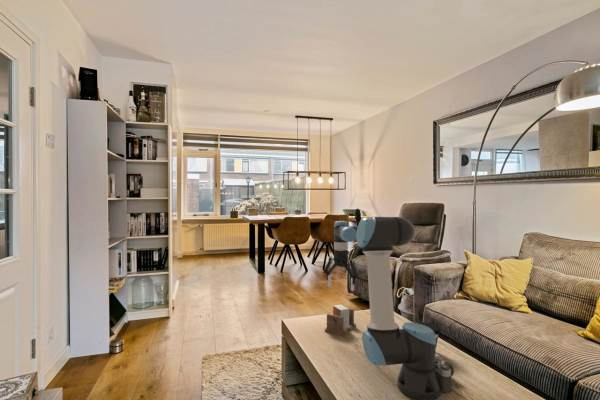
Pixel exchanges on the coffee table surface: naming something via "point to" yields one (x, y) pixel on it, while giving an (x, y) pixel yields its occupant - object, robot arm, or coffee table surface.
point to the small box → (342, 313)
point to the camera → (444, 374)
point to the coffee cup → (433, 327)
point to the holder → (339, 324)
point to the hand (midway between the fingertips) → (340, 288)
